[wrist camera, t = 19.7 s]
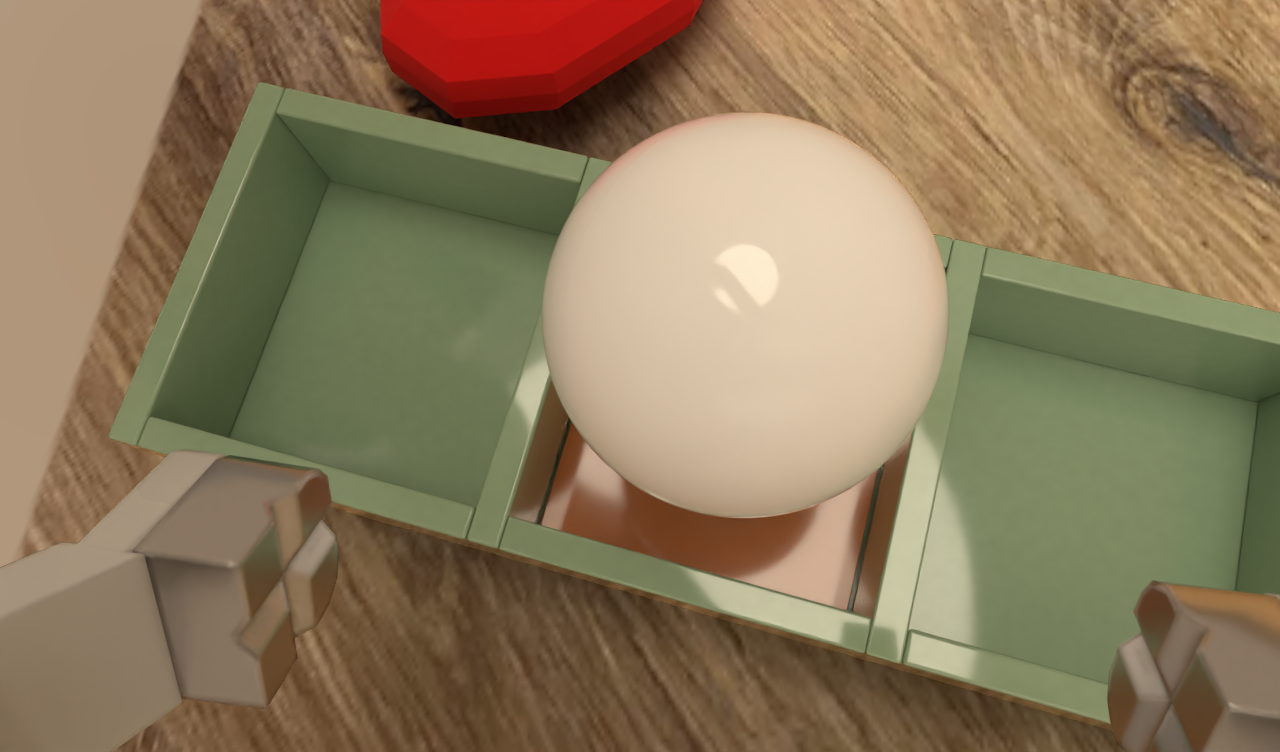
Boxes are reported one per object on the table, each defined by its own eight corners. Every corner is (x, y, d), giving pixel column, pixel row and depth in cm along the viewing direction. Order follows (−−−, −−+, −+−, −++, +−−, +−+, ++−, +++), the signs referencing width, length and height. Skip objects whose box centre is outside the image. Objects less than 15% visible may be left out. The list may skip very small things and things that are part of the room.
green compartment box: (201, 470, 24) (105, 437, 20) (323, 163, 26) (257, 80, 22) (1232, 764, 21) (1354, 793, 17) (1276, 389, 23) (1395, 337, 19)
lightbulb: (759, 616, 22) (815, 592, 11) (541, 451, 23) (407, 289, 12) (914, 397, 23) (1100, 185, 12) (698, 251, 24) (698, -53, 14)
